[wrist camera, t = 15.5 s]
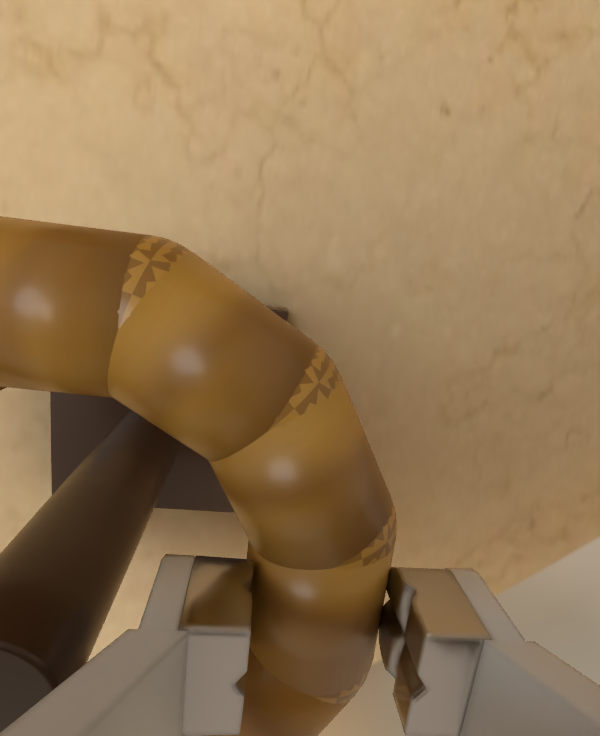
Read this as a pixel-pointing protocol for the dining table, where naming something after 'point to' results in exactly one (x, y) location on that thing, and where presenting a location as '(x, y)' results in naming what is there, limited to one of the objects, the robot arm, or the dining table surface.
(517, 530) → the dining table surface
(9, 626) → the post
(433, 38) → the dining table surface
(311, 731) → the ring
